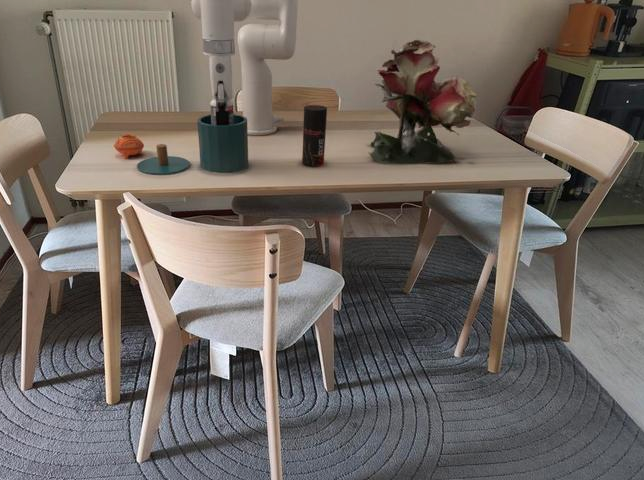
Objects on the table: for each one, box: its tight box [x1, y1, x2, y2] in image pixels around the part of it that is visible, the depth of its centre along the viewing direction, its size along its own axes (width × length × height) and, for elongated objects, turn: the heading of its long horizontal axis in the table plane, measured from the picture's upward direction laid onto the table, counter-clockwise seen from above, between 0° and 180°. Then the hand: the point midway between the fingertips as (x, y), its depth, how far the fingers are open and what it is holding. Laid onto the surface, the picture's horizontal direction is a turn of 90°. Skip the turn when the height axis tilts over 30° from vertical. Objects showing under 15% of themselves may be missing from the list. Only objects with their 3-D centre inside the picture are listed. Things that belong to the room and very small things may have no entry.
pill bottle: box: [210, 93, 234, 125], centre depth 126 cm, size 6×6×10 cm
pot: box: [113, 133, 145, 160], centre depth 137 cm, size 8×8×7 cm
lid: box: [136, 143, 191, 176], centre depth 130 cm, size 14×14×6 cm
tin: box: [196, 113, 249, 174], centre depth 130 cm, size 13×13×12 cm
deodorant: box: [301, 104, 328, 168], centre depth 133 cm, size 6×6×15 cm
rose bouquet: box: [367, 38, 478, 165], centre depth 141 cm, size 26×29×30 cm
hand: (222, 123), depth 127 cm, fingers closed on pill bottle, 5 cm apart
